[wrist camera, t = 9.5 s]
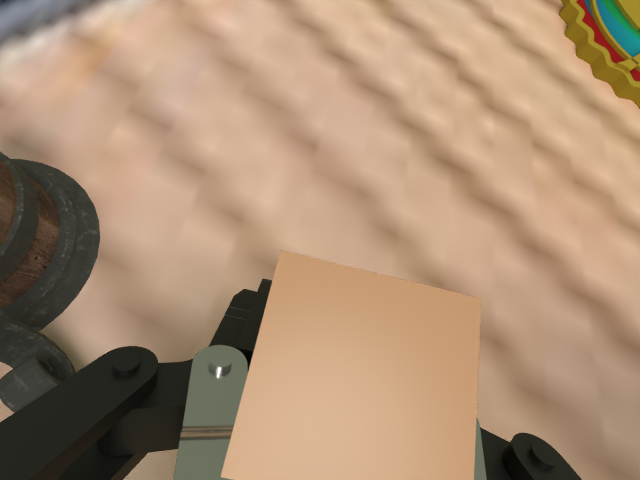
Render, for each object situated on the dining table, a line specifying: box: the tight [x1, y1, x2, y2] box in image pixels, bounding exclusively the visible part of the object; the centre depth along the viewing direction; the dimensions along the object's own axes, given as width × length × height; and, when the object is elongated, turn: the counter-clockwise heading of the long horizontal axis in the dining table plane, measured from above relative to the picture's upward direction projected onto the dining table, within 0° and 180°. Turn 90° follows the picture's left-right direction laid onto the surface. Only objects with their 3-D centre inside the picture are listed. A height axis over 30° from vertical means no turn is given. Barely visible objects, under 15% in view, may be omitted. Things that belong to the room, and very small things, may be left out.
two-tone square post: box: [221, 250, 481, 480], centre depth 11 cm, size 4×4×11 cm
